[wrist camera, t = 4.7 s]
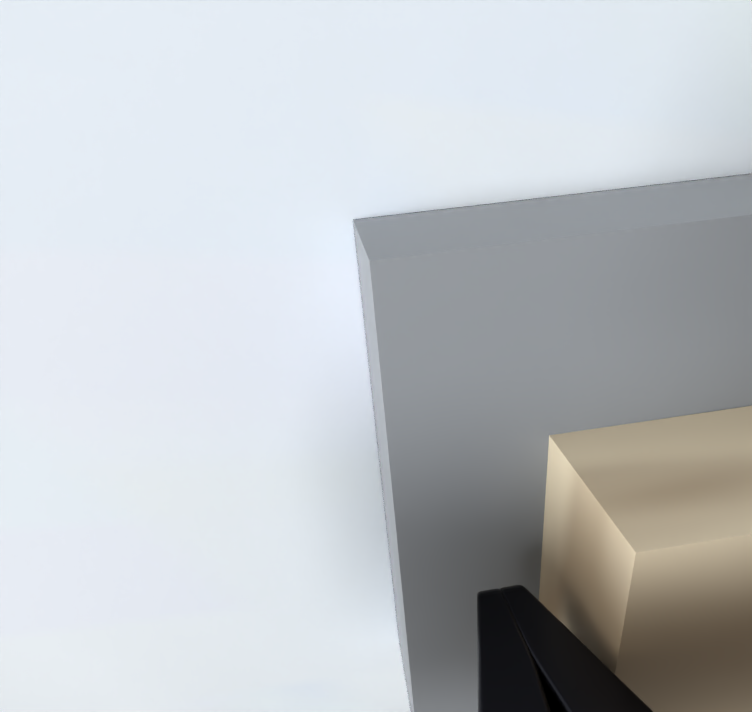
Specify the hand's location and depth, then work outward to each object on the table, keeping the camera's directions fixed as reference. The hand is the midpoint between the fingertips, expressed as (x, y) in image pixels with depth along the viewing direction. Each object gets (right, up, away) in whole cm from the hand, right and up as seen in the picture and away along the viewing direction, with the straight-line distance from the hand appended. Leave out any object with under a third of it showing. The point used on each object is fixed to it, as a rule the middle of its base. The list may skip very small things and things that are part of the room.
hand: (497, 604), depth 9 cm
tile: (+4, +1, +1) cm, 4 cm away
